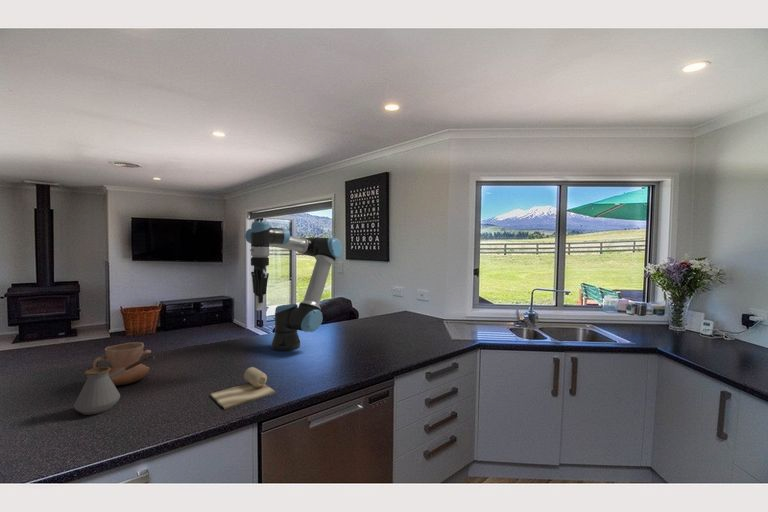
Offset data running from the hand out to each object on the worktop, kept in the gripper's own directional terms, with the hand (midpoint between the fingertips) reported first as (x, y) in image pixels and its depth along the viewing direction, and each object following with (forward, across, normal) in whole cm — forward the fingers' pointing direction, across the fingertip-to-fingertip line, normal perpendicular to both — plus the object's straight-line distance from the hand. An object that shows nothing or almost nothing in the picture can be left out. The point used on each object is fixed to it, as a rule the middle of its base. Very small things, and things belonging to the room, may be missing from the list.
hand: (259, 309), depth 145 cm
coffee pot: (+27, 0, -49) cm, 56 cm away
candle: (+23, +12, -9) cm, 27 cm away
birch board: (+26, +21, -15) cm, 37 cm away
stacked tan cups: (+27, -22, -45) cm, 57 cm away
